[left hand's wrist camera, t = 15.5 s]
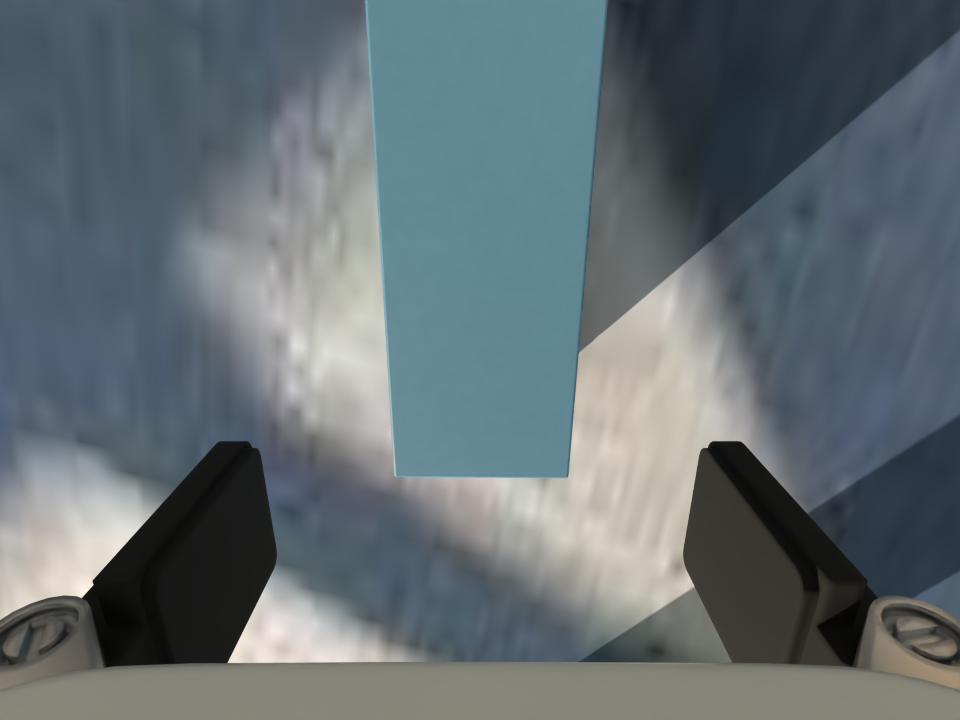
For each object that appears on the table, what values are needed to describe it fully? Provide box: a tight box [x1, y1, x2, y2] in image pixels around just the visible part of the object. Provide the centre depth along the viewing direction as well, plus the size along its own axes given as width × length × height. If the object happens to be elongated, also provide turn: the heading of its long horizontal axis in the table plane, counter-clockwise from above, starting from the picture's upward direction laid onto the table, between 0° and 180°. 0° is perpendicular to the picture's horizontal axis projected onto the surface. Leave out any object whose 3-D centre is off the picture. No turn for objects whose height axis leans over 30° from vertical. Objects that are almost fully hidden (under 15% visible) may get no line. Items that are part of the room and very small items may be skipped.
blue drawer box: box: [365, 0, 608, 478], centre depth 19 cm, size 16×6×8 cm, turn 179°
